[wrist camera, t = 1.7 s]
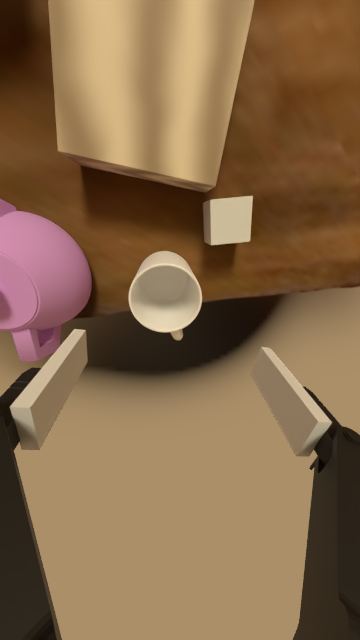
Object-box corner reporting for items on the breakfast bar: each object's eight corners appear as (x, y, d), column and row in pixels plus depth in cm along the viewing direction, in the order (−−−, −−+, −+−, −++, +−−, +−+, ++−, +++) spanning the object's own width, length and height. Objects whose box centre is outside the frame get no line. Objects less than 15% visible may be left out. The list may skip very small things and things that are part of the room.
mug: (199, 315, 36) (212, 348, 26) (153, 326, 36) (149, 363, 27) (185, 244, 30) (194, 255, 21) (131, 257, 31) (117, 274, 21)
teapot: (113, 326, 35) (91, 373, 25) (24, 339, 35) (-38, 392, 25) (65, 173, 26) (-6, 140, 15) (-59, 191, 26) (-221, 170, 15)
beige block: (204, 241, 30) (211, 245, 26) (202, 202, 28) (210, 199, 24) (237, 238, 31) (249, 241, 26) (238, 199, 28) (252, 195, 24)
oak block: (80, 165, 25) (58, 150, 20) (74, -49, 19) (38, -158, 13) (205, 192, 28) (215, 186, 22) (240, 10, 21) (267, -62, 15)
